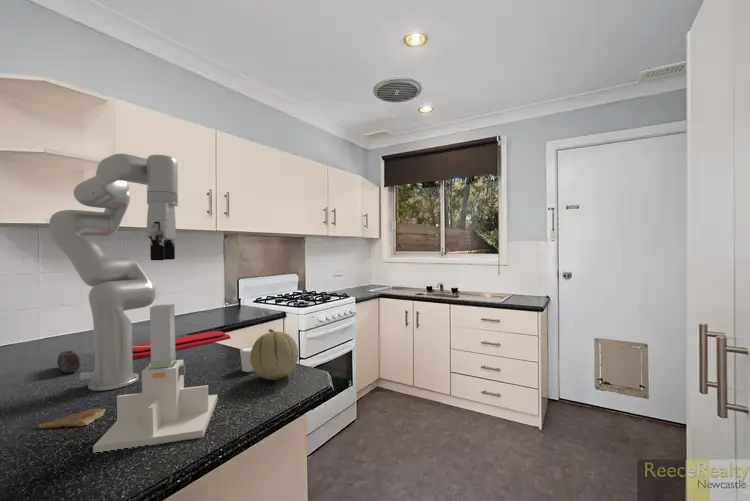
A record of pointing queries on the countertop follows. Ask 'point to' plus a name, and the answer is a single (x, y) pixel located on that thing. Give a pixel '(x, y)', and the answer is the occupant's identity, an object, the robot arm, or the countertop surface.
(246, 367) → the shot glass
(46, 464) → the countertop surface
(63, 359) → the perforated stone tool
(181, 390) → the cream stand
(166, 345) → the steel post
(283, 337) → the cantaloupe
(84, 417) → the shard
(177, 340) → the dish drying mat
